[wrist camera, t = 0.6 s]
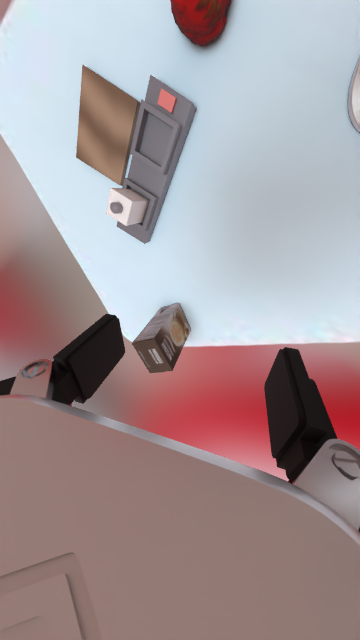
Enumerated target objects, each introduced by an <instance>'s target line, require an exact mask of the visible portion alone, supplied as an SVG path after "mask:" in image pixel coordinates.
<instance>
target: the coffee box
mask: <svg viewBox="0 0 360 640" xmlns="http://www.w3.org/2000/svg"><path fill="white" fill-rule="evenodd" d="M190 330H191V328H190V326H189V324H188V321H187V319H186V317H185V315H184V312H183V310H182V308H181V306H180V303H176V304H172V305H169V306H165V307H162V308H160V309H159V311H158V312H157V313H156V314H155V316H154V317H153V318H152V319H151V320H150V322H149V323H148V324H147V325H146V327H145V328H144V329H143V330H142V332H141V333H140V334H139V335H138V336H137V338H136V339H135V340H134V341H133V343H132V345H133V346H134V348H135V349H136V351H137V352H138V354H139V356H140V357H141V359H142V361H143V362H144V364H145V366H146V367H147V369H148V370H149V372H150V373H156V372H165V371H172V370H173V368H174V366H175V364H176V361H177V359H178V357H179V355H180V353H181V350H182V348H183V346H184V344H185V341H186V339H187V337H188V335H189V332H190Z"/></svg>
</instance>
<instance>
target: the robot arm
mask: <svg viewBox="0 0 360 640" xmlns="http://www.w3.org/2000/svg"><path fill="white" fill-rule="evenodd" d="M359 73H360V58H359V60H358V63H357V65H356V68H355V70H354V73H353V76H352V80H351V84H350V88H349V96H348V110H349V115H350V119H351V122H352V124H353V125H354V127H355V128H356V130H357V131H358V132H360V76H359ZM124 353H125V347H124V342H123V338H122V332H121V327H120V322H119V319H118V318H117V317H116V316H115V315H110V314H105V315H104V316H103V317H102V318H100V319H99V320H98V321H97V322H95V324H93V325H92V326H91V327H90V328H88V329H87V330H86V331H84V332H83V333H82V334H81V335H79V336H78V337H77V338H76V339H75V340H73V341H72V342H71V343H70V344H69V345H67V346H66V347H65V348H64V349H62V350H61V351H60V352H59V353H58V354H56V355H55V356H54V357H53V358H54V361H53V362H51V361H50V360H48V359H39V360H35V361H32V362H30V363H29V364H27V365H25V366H24V367H22V369H20V370H19V372H18V374H17V376H16V377H12V378H9V379H6V380H2V381H0V640H360V451H359V450H358V449H357V448H355V447H354V446H352V445H351V444H349V443H347V442H345V441H343V440H339V439H337V436H336V434H335V431H334V429H333V426H332V424H331V421H330V418H329V416H328V414H327V411H326V408H325V406H324V403H323V401H322V398H321V396H320V393H319V391H318V388H317V386H316V383H315V382H314V381H313V380H312V379H309V377H308V374H307V371H306V369H305V366H304V363H303V361H302V358H301V355H300V353H299V350H297V349H292V348H287V347H285V348H284V349H280V350H279V352H278V355H277V357H276V359H275V361H274V364H273V366H272V368H271V371H270V373H269V375H268V378H267V380H266V382H265V398H266V407H267V416H268V425H269V434H270V443H271V452H272V456H273V458H276V461H277V467H279V468H282V469H285V470H286V475H287V478H288V479H289V481H288V482H287V481H285V480H282V479H280V478H278V477H275V476H273V475H270V474H268V473H266V472H263V471H261V470H258V469H255V468H252V467H249V466H246V465H244V464H241V463H238V462H235V461H233V460H230V459H227V458H224V457H221V456H218V455H216V454H212V453H209V452H206V451H204V450H201V449H198V448H195V447H192V446H189V445H186V444H183V443H180V442H177V441H174V440H171V439H169V438H166V437H162V436H159V435H157V434H154V433H151V432H148V431H145V430H142V429H139V428H136V427H133V426H130V425H127V424H124V423H121V422H118V421H115V420H112V419H108V418H106V417H103V416H100V415H97V414H94V413H91V412H88V411H85V410H81V409H78V408H76V407H72V405H71V404H72V402H73V401H74V400H75V401H76V402H79V403H84V402H85V401H86V400H87V399H89V398H90V397H91V396H92V395H93V394H94V392H95V391H96V390H97V388H98V387H99V386H100V384H102V382H103V381H104V380H105V378H106V377H107V376H108V375H109V373H110V372H111V371H112V370H113V368H114V367H115V366H116V364H117V363H118V362H119V361H120V359H121V358H122V357H123V355H124Z"/></svg>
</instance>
